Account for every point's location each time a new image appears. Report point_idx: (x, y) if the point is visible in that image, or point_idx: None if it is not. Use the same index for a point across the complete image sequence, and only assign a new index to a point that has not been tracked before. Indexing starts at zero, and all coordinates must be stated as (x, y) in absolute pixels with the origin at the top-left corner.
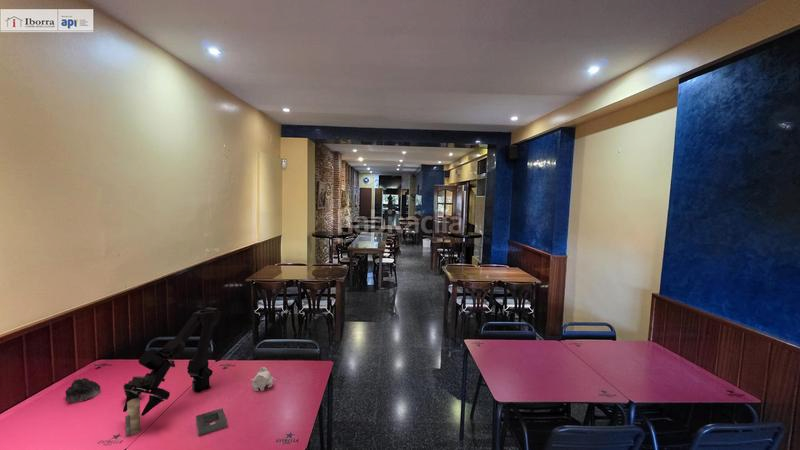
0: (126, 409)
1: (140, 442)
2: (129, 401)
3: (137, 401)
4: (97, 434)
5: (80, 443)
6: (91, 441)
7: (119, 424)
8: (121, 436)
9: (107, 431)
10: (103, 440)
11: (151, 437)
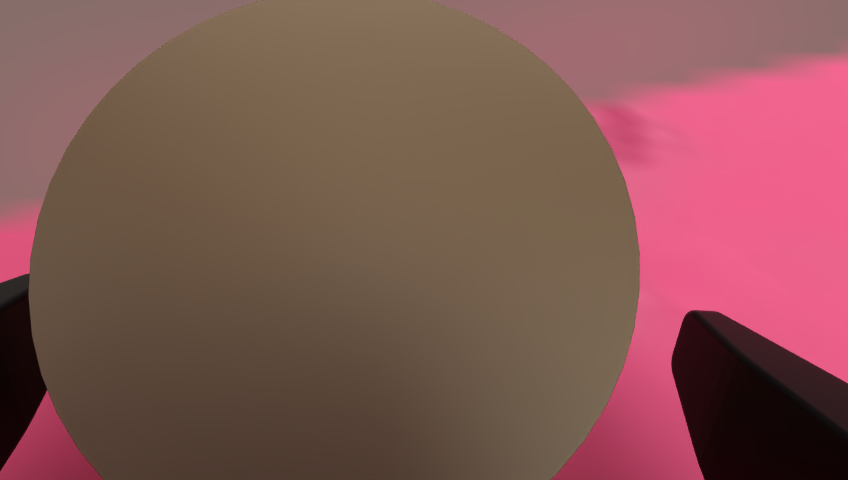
0: (699, 395)
1: None
2: (539, 169)
3: (79, 266)
4: (808, 225)
5: (801, 65)
6: (723, 113)
7: None
8: None
9: (756, 302)
10: None
11: None
